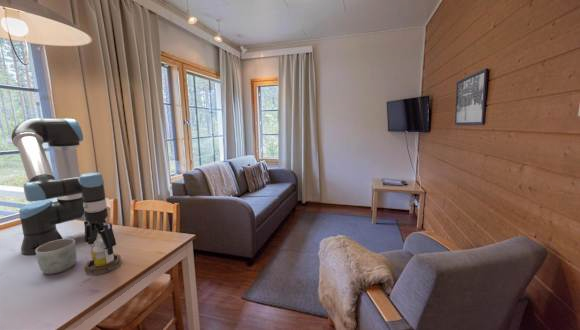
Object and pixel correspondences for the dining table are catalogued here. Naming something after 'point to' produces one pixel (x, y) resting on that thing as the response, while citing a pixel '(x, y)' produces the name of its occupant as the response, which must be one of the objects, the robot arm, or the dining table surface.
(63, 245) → the planter
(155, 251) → the dining table surface
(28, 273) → the dining table surface
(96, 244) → the pill bottle
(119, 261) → the holder
